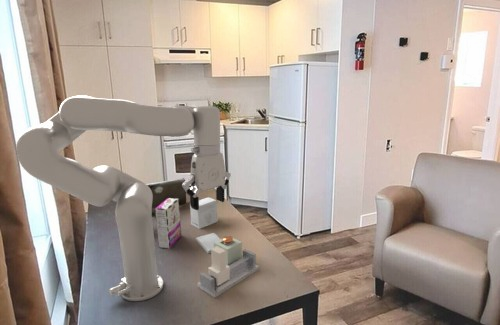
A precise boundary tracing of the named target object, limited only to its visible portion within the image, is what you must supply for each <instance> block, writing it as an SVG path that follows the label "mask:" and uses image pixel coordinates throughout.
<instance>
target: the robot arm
mask: <svg viewBox="0 0 500 325" xmlns="http://www.w3.org/2000/svg"><path fill="white" fill-rule="evenodd" d="M86 131H102V132H104V131H105V132H117V133H118V132H119V133H120V132H121V133H127V134H128V133H130V134H135V135H137V134H138V135H146V136H153V137H171V138H172V137H174V138H178V137H179V138H180V137H184V136H187V135H188V134H190V133H191V132H192V131H193V147H191V148H190V149H191V150H190V151H191V153H193V154H192V158H191V163H190V177H189V178H187V179H185V182H184V183H182V187H183V188H184V190H185V192H186V195H188V196H189V200H190V201H189V206H190V205H191V208H193V209H195V210H199V200H200V198H199V196H198V195H199V193H200V191H202V192H203V191H207V190H210V189H211V190H212V189H214V188H216V189H215V191H216V195H215V196H216V197H215V198H216V199H215V200H217V201H218V202H221V203H224V202H225V190H226V189H227V186H228V184H229V180H230V178H231V175H232V174H231V172H228V171H226V165H225V159H224V155H223V153H222V152H221V111H220V109H219V108H218V107H217V106H211V105H209V106H207V105H206V106H205V105H202V106H187V105H181V104H180V105H179V104H177V105H173V106H172V107H166V106H165V107H164V106H163V107H162V106H153V105H146V104H145V105H144V104H140V103H137V102H134V101H133V100H132V101H131V100H127V99H126V100H125V99H115V98H99V97H93V96H90V95H89V96H88V95H83V94H82V95H74V96H71V97H68V98H65V100H63V101H62V102H61V104H60V106H59V110H58V112H56V113H55V114H54V115H53V116H52V117H50V118H49V119H48V120H46V121H45V122H43V123H39V124H37V125H33V126H32V127H29V128H28V129H25V130H24V131H23V132H22V133H21V134H20V136H19V137H18V139H17V142H16V149H15V151H17V152H16V156H17V160H18V162H19V164H20V166H21V167H22V168H23V170H24V171H26V172H27V173H28V175H30V176H32V177H33V178H34V179H37V180H39V181H41V182H42V183H45V184H47V185H49V186H52V187H54V188H56V189H58V190H60V191H62V192H64V193H66V194H68V195H71V196H73V197H75V198H76V199H78V200H81V201H83V202H85V203H87V204H88V205H89V204H90V205H92V206H94V207H105V206H107V205H109V204H110V203H111V202H112V201H113V202H115V203H116V205H115V211H114V214H115V221H116V227H117V229H118V230H117V231H118V235H119V236H118V237H119V243H120V245H119V246H120V252H121V253H120V254H121V258H122V259H121V260H122V261H121V262H122V268H123V274H124V275H123V276H124V277H123V278H121V282H120V283H118V285H116V286H114V287H111V288H109V289H108V293H109V295H110V296H111V297H112V296H114V295H116V294H117V297H119V298H120V297H122V298H123V299H125V300H127V301H130V302H140V301H145V300H149V299H152V298H153V297H155V296H156V295H158V294H159V293H160V292H161V291H162V289H163V288H164V280H163V278H162V276H160V275H158V268H157V265H158V264H157V256H156V254H157V253H156V244H155V243H156V242H155V235H154V234H155V233H154V227H153V226H154V224H153V215H152V201H153V194H152V191H151V189H150V188H149V187H148V186H147V185H146V183H144V182H143V181H140V180H139V179H138V178H136V177H133V176H132V175H130V174H128V173H126V172H123V171H122V170H120V169H118V168H116V167H113V166H110V165H98V166H95V167H94V168H91V167H88V166H87V165H84V164H82V163H81V162H79V161H78V160H74V159H73V158H69V157H65V156H63V155H61V154H60V153H59V152H60V151H62V150H64V149H65V148H67V147H68V146H69V145H71V143H73V142H74V141H76V139H78V138H79V137H80V136H82V135H83V134H84V133H85V132H86ZM190 186H191V188H190Z"/></svg>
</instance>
